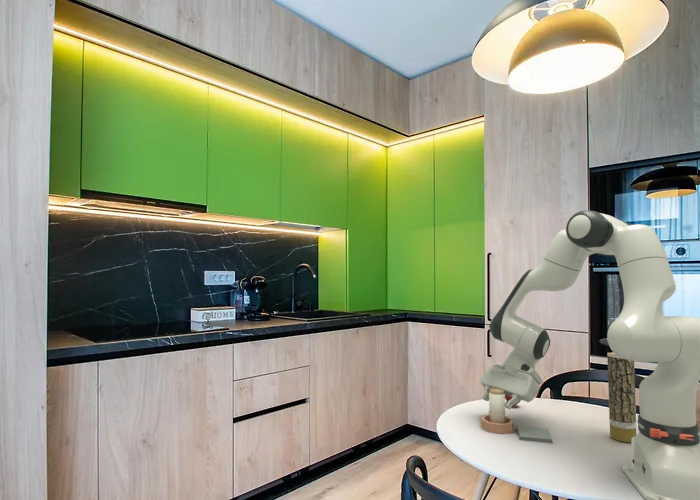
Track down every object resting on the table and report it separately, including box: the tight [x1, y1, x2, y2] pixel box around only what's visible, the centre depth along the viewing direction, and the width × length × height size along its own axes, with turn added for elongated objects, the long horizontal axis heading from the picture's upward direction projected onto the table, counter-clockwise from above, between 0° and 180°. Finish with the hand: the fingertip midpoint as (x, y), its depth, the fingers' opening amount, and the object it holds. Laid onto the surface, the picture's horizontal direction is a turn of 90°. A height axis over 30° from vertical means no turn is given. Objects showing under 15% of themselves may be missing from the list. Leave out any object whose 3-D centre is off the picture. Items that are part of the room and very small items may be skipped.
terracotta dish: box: [480, 414, 515, 435], centre depth 139 cm, size 9×9×3 cm
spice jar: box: [488, 388, 506, 424], centre depth 140 cm, size 5×5×11 cm
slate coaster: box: [516, 426, 554, 444], centre depth 133 cm, size 9×9×1 cm
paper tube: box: [606, 351, 638, 444], centre depth 131 cm, size 7×7×25 cm
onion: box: [505, 395, 522, 407], centre depth 162 cm, size 6×6×8 cm
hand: (495, 403), depth 139 cm, fingers open, 8 cm apart
